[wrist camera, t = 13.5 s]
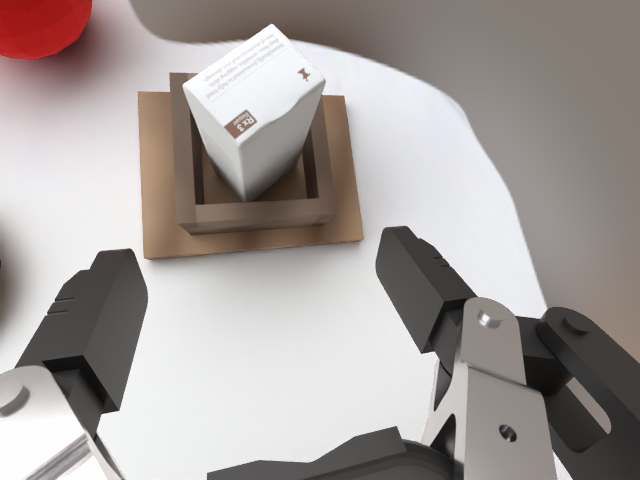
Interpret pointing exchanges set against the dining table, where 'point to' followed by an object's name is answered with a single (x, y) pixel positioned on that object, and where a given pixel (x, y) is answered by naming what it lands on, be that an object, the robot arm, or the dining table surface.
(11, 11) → the tomato
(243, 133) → the skincare box
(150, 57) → the dining table surface
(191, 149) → the sleeve stand
